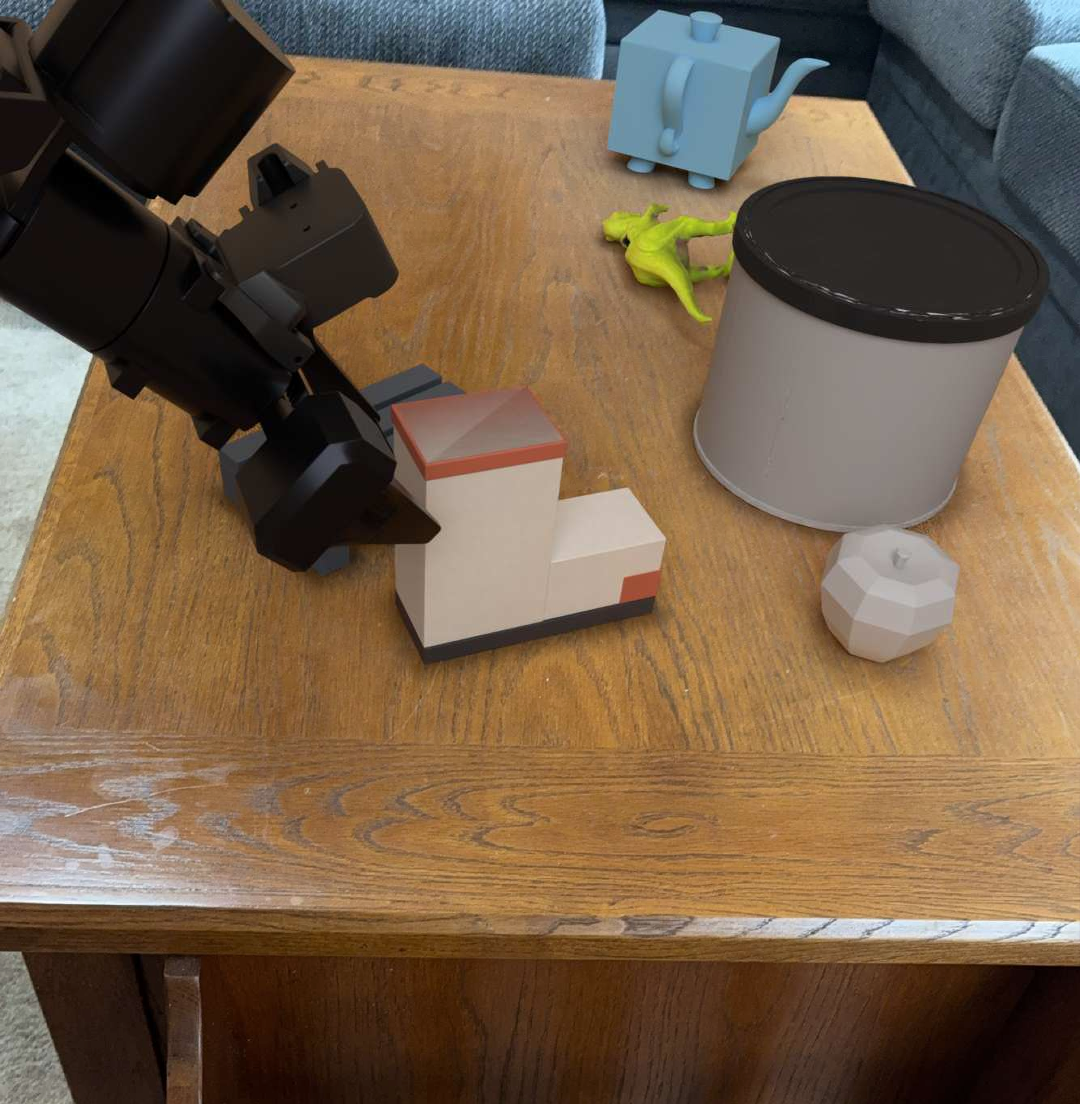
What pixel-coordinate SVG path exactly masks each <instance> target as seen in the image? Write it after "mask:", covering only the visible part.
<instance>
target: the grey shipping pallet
mask: <svg viewBox="0 0 1080 1104" xmlns="http://www.w3.org/2000/svg"><path fill="white" fill-rule="evenodd" d="M358 389H359V388H358ZM359 390H360V391H361V392H362V394H363V395H364V396H365V397H366V398H367V400H368V401H369V402H370V403H371V405H372V406H373V407H374V408H375V409H376V411H377V412H378V413H379V415H380V417H381V420H380V422H379V425H380V427H381V429H382V431H383V433H384V434H385V436H386V438H387V440H388V442H389V444H390V445H391V447H392V449H393V451H394V424H393V422H392V421H391V405H394V404H400V403H407V402H414V401H421V400H427V399H434V398H441V397H447V396H454V395H461V394H468V393H469V392H467V391H465V390H464V389H462V388H460V387H459V386H457V385H456V384H454V383H453V382H452V381H450V380H446V381H445V382H443V376H442V375H441V374H439V373H438V372H437V371H435V370H434V369H432V368H430V367H429V366H427V365H426V364H424V363H420V364H418V365H416V366H413V367H411V368H408V369H405V370H404V371H400V372H398V373H396V374H393V375H391V376H389V377H386V378H384V379H381V380H378V381H376V382H374V383H372V384H368V385H367V386H364V387H362V388H360V389H359ZM266 440H267V438H266V436H265V434H264V431H263V429H262V428H261V429H259V430H257V431H254V432H251V433H250V434H247V435H244V436H242V437H240V438H237V439H236V440H235V439H234V440H233V441H230V442H227V443H226V444H225V445H224V446H223V447H222V449H221V450H220V451H217V452H218V457H219V458H218V459H219V461H218V462H219V463H218V464H219V470H220V476H221V484H222V489H223V495H225V497H227V498H228V499H229V500H230V501H232V502H233V503H234V504H235V505H236V506H238V507H239V508H240V506H239V503H238V497H237V490H236V484H235V477H234V476H235V475H236V473H237V472H238V471H239V470H240V469H241V468H242V467H243V466H244V464H245V463H246V462H247V461H248V460H249V459H250V458H251V456H252V455H253V454H254V453H255V452H256V451H257V450H258V449H259V447H260V446H261V445H262V444H263V443H264V442H265V441H266ZM393 477H394V476H393ZM350 556H351V555H350V546H341V547H333V548H328V549H327V550H326V551H325V552H324V553H323V555H322V556H321V557H320V558H319V559H318V560H317V561H316V562H315V563H314V564H313V565H312V566H311V567H310V568H312V569H313V570H314V571H315V572H317V573H318V574H319V575H320V576H321V577H326V576H328V575H330V574H332V573H334V572H336V571H338V570H340V569H342V568H344V567H345V566H348V565H350V564H351V557H350Z"/></svg>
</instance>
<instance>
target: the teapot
mask: <svg viewBox="0 0 1080 1104" xmlns="http://www.w3.org/2000/svg"><path fill="white" fill-rule="evenodd" d="M723 21H724V19H723V17H722V16H720V15H719V14H716V13H714V12H710V11H705V10H704V11H703V10H702V11H701V10H700V11H695V12H692V13H690V15H689V16H687V15H683V14H678V13H675V12H670V11H666V10H661V9H657V11H655V12H654V13H653V14H652V15H651V16H648V18H646V19H645V20H643V22H641V23H640V24H639V25H638V26H636V27H635V28H634V29H632V30H631V31H630V32H629V33H628V34H627V35H626V36H624V37H623V38H621V39H620V44H619V45H620V46H619V53H618V61H617V69H616V75H615V83H614V84H615V85H614V91H613V101H612V108H611V115H610V124H609V130H608V138H607V146H606V150H608V151H612V152H616V153H620V154H623V155H628V156H631V158H630V160H629V161H628V163H627V164H626V167H627V168H628V169H629V170H630V171H633V172H635V173H645V174H646V173H651V172H653V170H654V169H655V166H656V164H657V163H658V164H662V165H665V166H669V167H672V168H678V169H681V170H686V171H688V178H687V183H688V184H689V185H690V186H692V187H694V188H697V189H702V190H709V189H712V188H714V187H715V186H716V185H715V184H716V183H715V178H716V179H720V180H724V181H728V182H729V181H730V180H731V178H732V177H733V176H734V175H735V173H736V172H737V170H738V169H739V168H740V167H741V165H743V163H744V162H745V160H746V159H747V158H748V157H749V155H750V154H751V153H752V152H753V150H754V149H755V148H756V146H757V145H758V142H759V137H760V134H761V133H763V132H765V131H767V130H768V129H769V128H771V126H773V125H774V124H775V123H776V121H778V119H779V118H780V117H781V115H782V113H783V112H784V111H785V108H786V106H787V104H788V103H789V101H790V98H791V97H792V95H793V93H794V91H795V90H796V88H797V86H798V85H799V84H800V83H801V81H802V80H803V79H804V78H805V77H806V76H807V75H808V74H810V73H811V72H813V71H816V70H820V69H821V68H826V67H828V66H830V65H831V64H830V62H828V61H825V60H822V59H817V58H811V57H803V58H799V59H797V60H795V61H794V62H792V63H791V64H790V65H789V66H788V67H787V69H786V70H785V71H784V73H783V75H782V76H781V78H780V80H779V81H778V84H777V85H776V87H775V88H773V91H772V92H771V93H770V89H771V84H772V80H773V76H774V70H775V66H776V63H777V62H776V61H777V57H778V52H779V48H780V43H781V38H780V37H779V36H778V37H777V36H774V35H769V34H765V33H761V32H757V31H752V30H748V29H744V28H739V27H735V26H731V25H727V24H723Z"/></svg>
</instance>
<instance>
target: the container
mask: <svg viewBox="0 0 1080 1104" xmlns="http://www.w3.org/2000/svg"><path fill="white" fill-rule="evenodd" d="M737 213H738V214H737V218H736V223H735V227H734V232H733V234H732V237H731V245H732V250H733V251H734V258H733V263H732V267H731V272H730V275H728V276H729V277H728V281H727V286H726V289H725V295H724V299H723V303H722V307H721V312H720V317H719V321H718V325H717V330H716V334H715V339H714V343H713V347H712V352H711V357H710V362H709V366H708V370H707V375H706V379H705V384H704V388H703V393H702V396H701V402H700V406H699V408H698V410H697V411H696V414H695V418H694V422H693V429H692V437H693V443H694V447H695V450H696V453H697V455H698V457H699V459H700V460H701V462H702V463H703V465H704V467H705V468H706V470H707V471H708V472H709V473H710V474H711V476H713V477H714V478H715V479H716V481H718V482H719V483H720V485H722V486H723V487H724V488H726V489H727V490H728V491H729V492H731V493H732V494H734V495H735V496H737V497H738V498H739V499H741V500H742V501H744V502H746V503H748V504H749V505H751V506H754V507H755V508H757V509H758V510H761V511H763V512H765V513H767V514H770V515H772V516H774V517H777V518H779V519H782V520H785V521H787V522H791V523H794V524H797V525H801V526H805V527H809V528H812V529H813V528H814V529H817V530H824V531H828V532H829V531H830V532H834V533H836V532H837V533H843V534H846V533H850V532H854V531H858V530H862V529H865V528H869V527H873V526H877V525H881V524H887V525H891V526H894V527H898V528H902V529H907V528H911V527H914V526H917V525H919V524H922V523H924V522H926V521H929V519H931V518H933V517H934V516H936V515H937V514H938V513H939V512H940V511H942V510H943V509H944V508H945V507H946V506H947V504H948V503H949V501H950V500H951V498H952V496H953V495H954V492H955V489H956V487H957V482H958V478H959V474H960V472H961V470H962V467H963V466H964V463H965V461H966V459H967V456H968V454H969V451H970V449H971V447H972V445H973V444H974V440H975V438H976V436H977V433H978V431H979V429H980V427H981V426H982V425H981V424H982V422H983V420H984V418H985V416H986V413H987V412H988V409H989V407H990V404H991V402H992V400H993V398H994V395H995V393H996V391H997V389H998V386H999V384H1000V383H1001V380H1002V378H1003V376H1004V373H1005V371H1006V368H1007V366H1008V364H1009V362H1010V360H1011V358H1012V355H1013V354H1014V351H1015V349H1016V346H1017V344H1018V341H1019V339H1020V337H1021V335H1022V333H1023V330H1024V328H1025V326H1026V325H1028V324H1029V323H1030V322H1031V321H1032V320H1033V319H1034V318H1035V317H1036V316H1037V314H1038V312H1039V309H1040V308H1041V305H1042V303H1043V301H1044V299H1045V296H1046V295H1047V292H1048V290H1049V287H1050V283H1051V272H1050V269H1049V265H1048V263H1047V261H1046V259H1045V257H1044V256H1043V254H1042V253H1041V252H1040V250H1039V248H1037V247H1036V245H1035V244H1034V243H1033V242H1031V240H1029V239H1028V238H1027V237H1026V236H1025V235H1023V233H1021V232H1020V231H1019V230H1017V229H1016V228H1014V226H1012V225H1009V224H1008V223H1007V222H1005V221H1003V220H1002V219H1000V218H999V217H997V216H995V215H993V214H991V213H989V212H987V211H985V210H983V209H980V208H978V207H976V206H974V205H972V204H969V203H968V202H965V201H962V200H960V199H957V198H955V197H952V196H949V195H945V194H943V193H940V192H937V191H933V190H929V189H927V188H923V187H918V186H915V185H910V184H906V183H902V182H897V181H890V180H885V179H877V178H869V177H860V176H850V175H849V176H846V175H816V176H806V177H798V178H792V179H786V180H781V181H779V182H775V183H772V184H769V185H767V186H763V187H762V188H760V189H758V190H756V191H754V192H753V193H752V194H750V195H749V196H748V197H747V198H746V199H744V201H743V202H742V203H741V205H740V207H739V208H738V211H737Z"/></svg>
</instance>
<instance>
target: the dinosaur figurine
mask: <svg viewBox="0 0 1080 1104" xmlns="http://www.w3.org/2000/svg"><path fill="white" fill-rule="evenodd" d="M669 208H670V206H669V205H667V204H658V203H656V202H655V203H650V204H649V205H648V207H647V209H646V211H645V213H643V214H641V213H639V212H638V213H635V212H632V213H631V212H629V211H614V212H613V213H611V215H610V216H609V217H608V218H606V219H603V220H602V221H601V227H602V229H603V233H604V235H605V240H606V242H614V241H616V242H619V243H621V246H622V247H624V248H625V249H626V251H625V253H624V258H625V260H626V262H627V263H628V265H629V266H630V268H631V271H632V272H633V275H634V277H635V279H636V280H637V282H639V283H640V284H643V285H646V286H650V287H653V288H664V287H668V286H670V287H671V288H672V289H673V291H674V292H675V293H676V295H677V297H678V299H679V300H680V302H681V303H682V304H683V307H684V308H685V309H686V311H687V313H688V314H689V316H691V317H692V318H693V319H694V320H695V321H697V322H698V323H700V324H708V323H711V322H713V320H714V318H713V317H711V316H707V315H705V314H704V313H703V312H702V311H701V309H700V307H699V304H698V301H697V298H696V295H695V292H694V291H695V290H694V285H693V283H700V282H703V281H705V280H708V279H712V280H716V279H717V278H719V277H723V276H730V272H731V267H732V263H733V258H734V251H733V249H731V251H730V253H729V257H728V261H727V262H726V263H725V264H721V265H719V264H711V265H706V264H703V263H697V264H691V261H690V260H691V258H690V254H689V253H690V252H689V245H688V244H689V242H690V240H691V239H696V238H704V237H719V236H720V237H721V236H726V235H727V234H732V235H733V232H734V227H735V223H736V218H737V214H738V211H736V210H732V211H730V212H729V214H728V217H727V219H725V220H723V221H706V220H704V219H702V218H700V217H692V216H689V215H686V214H682V215H681V216H678V217H676V218H674V219H671V220H668V221H664V222H660V220H659V219H658V217H659V215H660V214H662V213H667V212H668V211H669Z"/></svg>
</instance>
